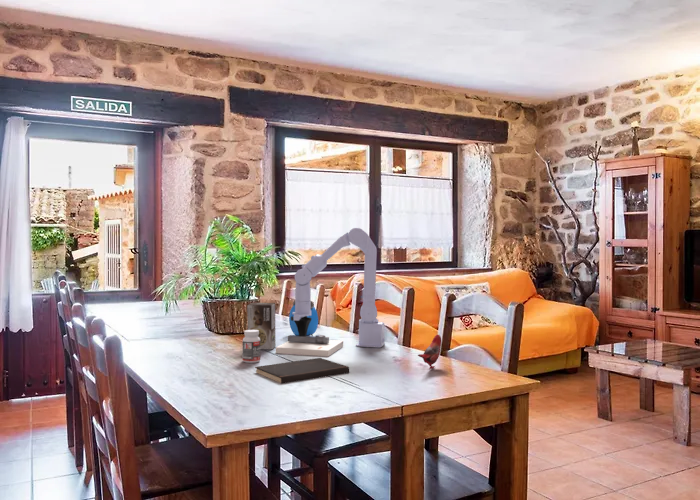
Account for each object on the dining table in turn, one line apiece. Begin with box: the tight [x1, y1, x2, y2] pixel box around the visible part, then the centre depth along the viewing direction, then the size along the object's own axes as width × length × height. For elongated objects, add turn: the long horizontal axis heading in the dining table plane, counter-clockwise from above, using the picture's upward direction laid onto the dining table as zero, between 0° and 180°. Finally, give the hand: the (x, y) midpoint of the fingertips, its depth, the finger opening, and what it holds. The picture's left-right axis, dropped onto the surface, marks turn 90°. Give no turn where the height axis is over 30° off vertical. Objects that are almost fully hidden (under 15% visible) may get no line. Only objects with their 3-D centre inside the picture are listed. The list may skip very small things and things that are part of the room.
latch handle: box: [287, 334, 330, 344], centre depth 211 cm, size 15×4×2 cm, turn 75°
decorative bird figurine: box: [417, 334, 442, 370], centre depth 177 cm, size 3×18×10 cm, turn 150°
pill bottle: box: [241, 329, 261, 364], centre depth 188 cm, size 6×6×10 cm
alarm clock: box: [288, 300, 319, 336], centre depth 237 cm, size 13×6×15 cm, turn 38°
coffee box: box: [246, 302, 277, 350], centre depth 211 cm, size 9×6×16 cm
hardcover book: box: [254, 357, 350, 385], centre depth 173 cm, size 16×23×2 cm
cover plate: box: [275, 339, 344, 357], centre depth 208 cm, size 19×19×2 cm
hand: (302, 337), depth 218 cm, fingers closed
